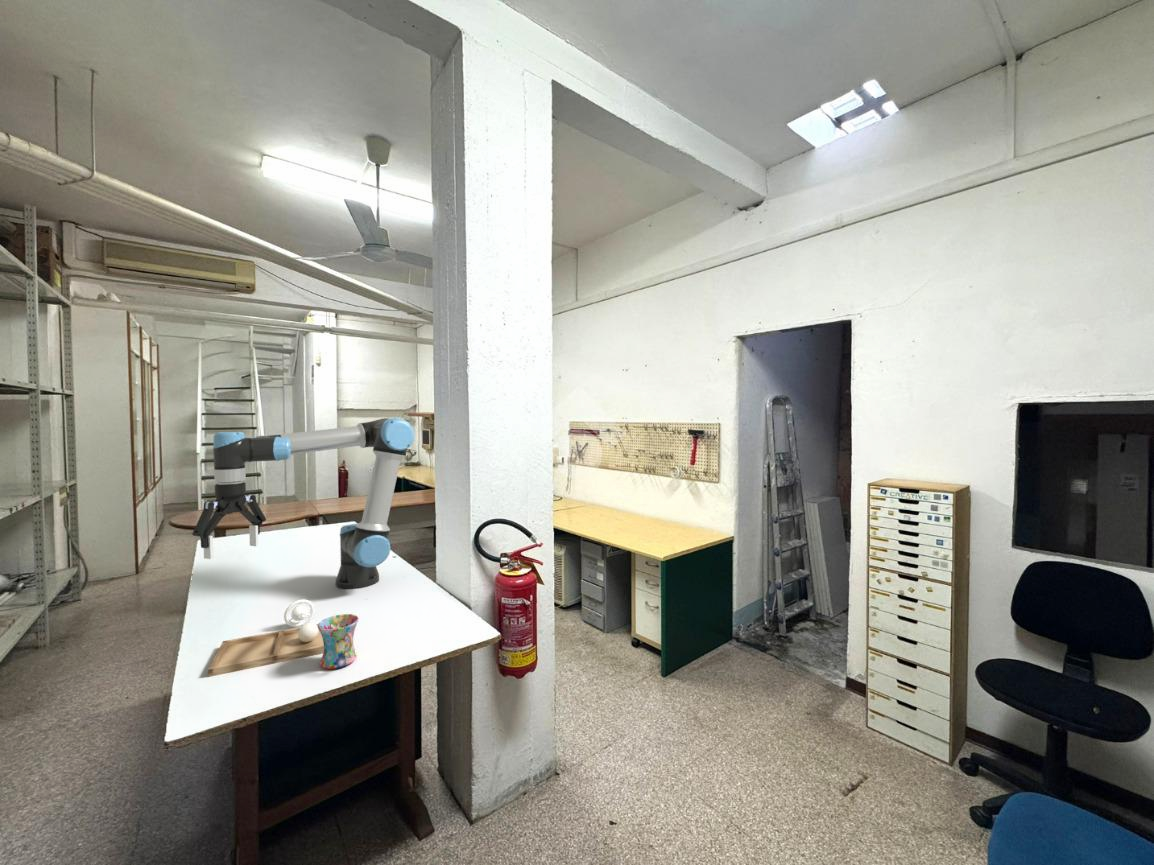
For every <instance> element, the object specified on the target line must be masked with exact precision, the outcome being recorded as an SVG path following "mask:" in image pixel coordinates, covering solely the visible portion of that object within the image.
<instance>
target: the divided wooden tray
mask: <svg viewBox="0 0 1154 865" xmlns="http://www.w3.org/2000/svg"><path fill="white" fill-rule="evenodd" d="M315 624H316V623H315ZM318 624H319V623H317V624H316V625H317V626H318ZM300 627H301V626H299V627H293V628H288V629H284V630H277V631H272V632H266V633H259V634H255V635H250V636H244V637H239V638H233V639H232V638H231V639H228V640H223V641H222V642H221V644H220V646H219V648H218V650H217V652H216V654H215V656H214V658H213V659H212V660H211V662H210V666H208V668H207V677H208V678H211V677H215V676H219V675H224V674H226V675H227V674H231V673H235V672H239V671H240V672H241V671H244V670H245V671H246V670H249V669H256V668H259V667H260V668H261V667H265V666H270V665H274V664H279V663H285V662H290V661H294V660H299V659H302V658H310V657H314V656H318V655H323V652H324V643H323V638H322V635H321V633H320V631H319V632H318V635H317V637H316V638H315V639H314V640H312V641H310V642H303V641H301V640H300V639H299V637H298V631H299V629H300Z"/></svg>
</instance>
